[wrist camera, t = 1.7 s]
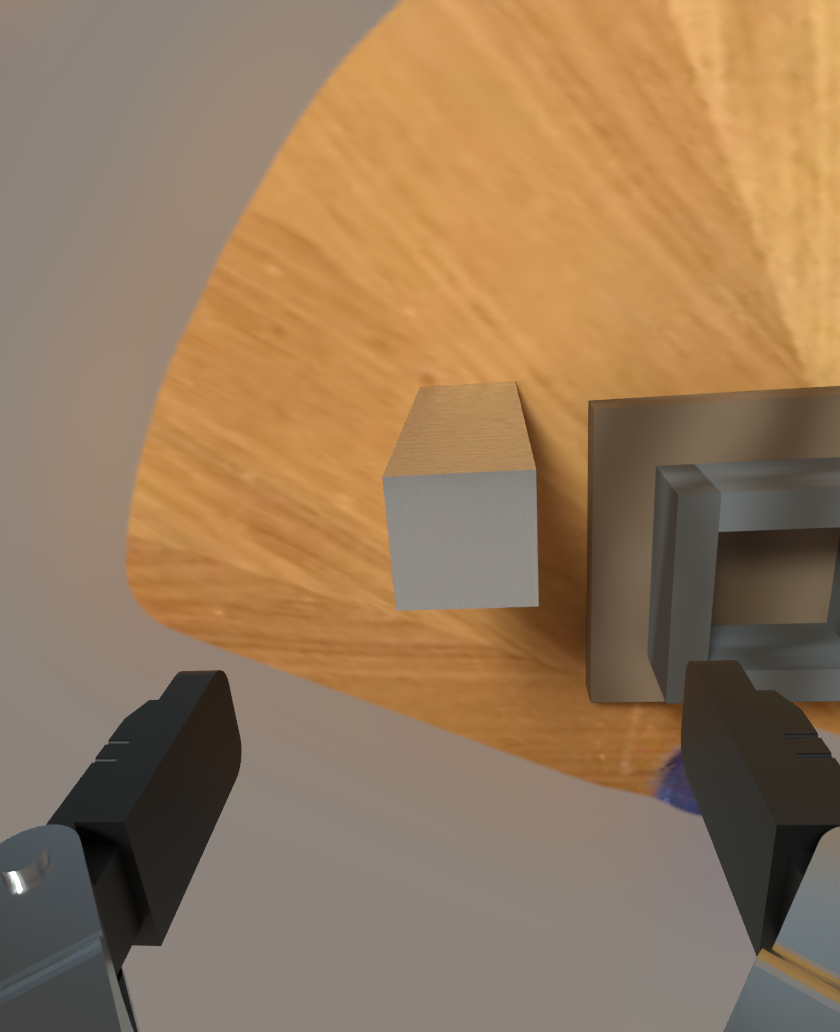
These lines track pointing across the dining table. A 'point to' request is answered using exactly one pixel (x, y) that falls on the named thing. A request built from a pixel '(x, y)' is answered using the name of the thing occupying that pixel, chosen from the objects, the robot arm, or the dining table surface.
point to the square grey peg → (463, 501)
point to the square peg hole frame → (714, 542)
